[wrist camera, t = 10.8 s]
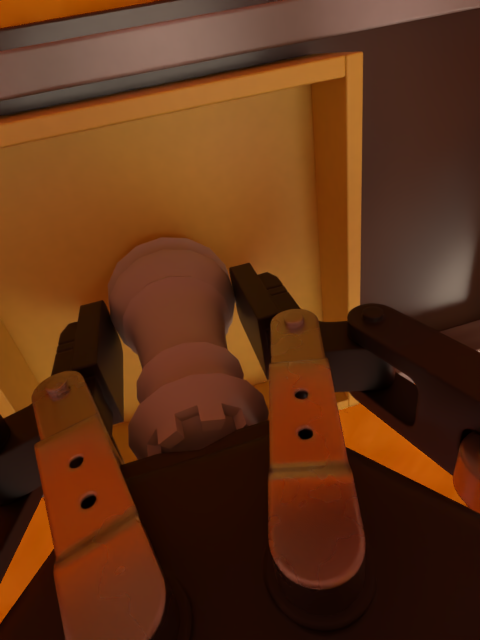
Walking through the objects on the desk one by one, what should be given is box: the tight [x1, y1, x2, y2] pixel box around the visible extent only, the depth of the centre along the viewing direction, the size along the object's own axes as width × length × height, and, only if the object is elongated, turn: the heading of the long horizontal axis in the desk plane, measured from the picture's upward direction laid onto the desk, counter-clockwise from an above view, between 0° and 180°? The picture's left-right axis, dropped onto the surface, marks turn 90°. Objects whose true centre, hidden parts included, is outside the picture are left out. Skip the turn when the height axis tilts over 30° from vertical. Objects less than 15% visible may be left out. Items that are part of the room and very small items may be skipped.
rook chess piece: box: [108, 237, 269, 460], centre depth 12 cm, size 4×4×8 cm
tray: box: [0, 51, 363, 464], centre depth 14 cm, size 16×13×3 cm
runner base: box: [0, 0, 480, 497], centre depth 16 cm, size 25×17×3 cm
